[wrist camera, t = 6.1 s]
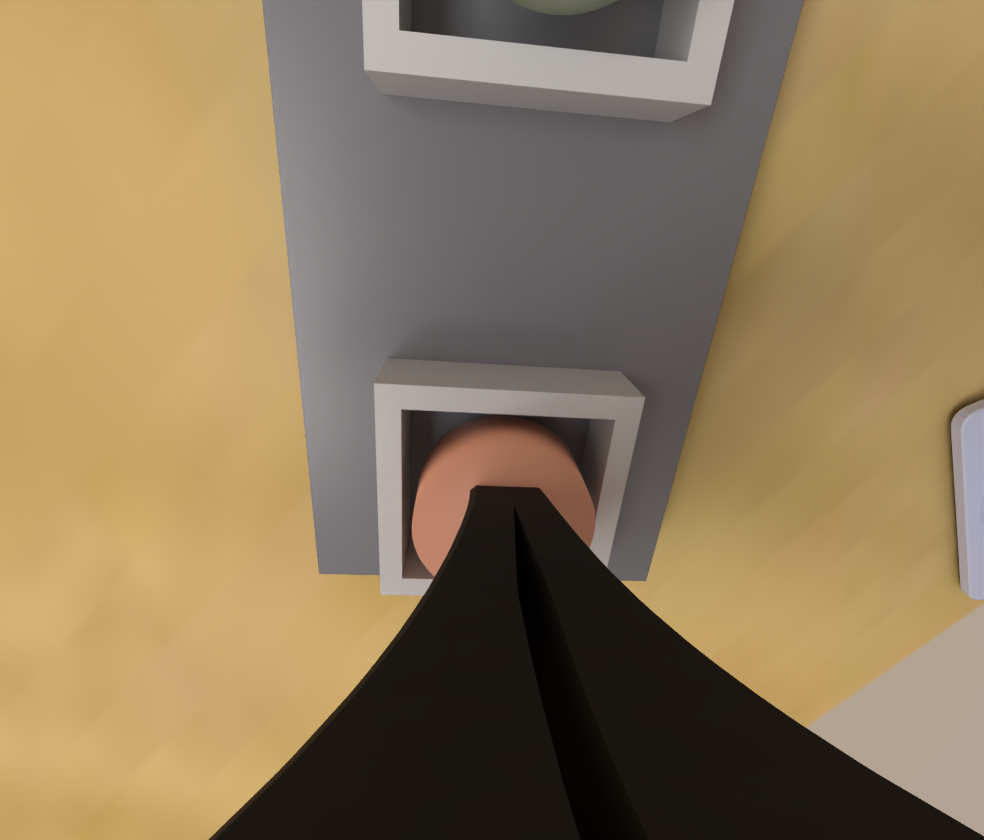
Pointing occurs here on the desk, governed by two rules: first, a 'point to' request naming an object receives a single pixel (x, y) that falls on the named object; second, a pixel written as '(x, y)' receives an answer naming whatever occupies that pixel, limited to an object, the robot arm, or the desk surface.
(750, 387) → the desk surface
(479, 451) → the terracotta button
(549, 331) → the button panel
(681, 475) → the desk surface
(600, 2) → the sage button
